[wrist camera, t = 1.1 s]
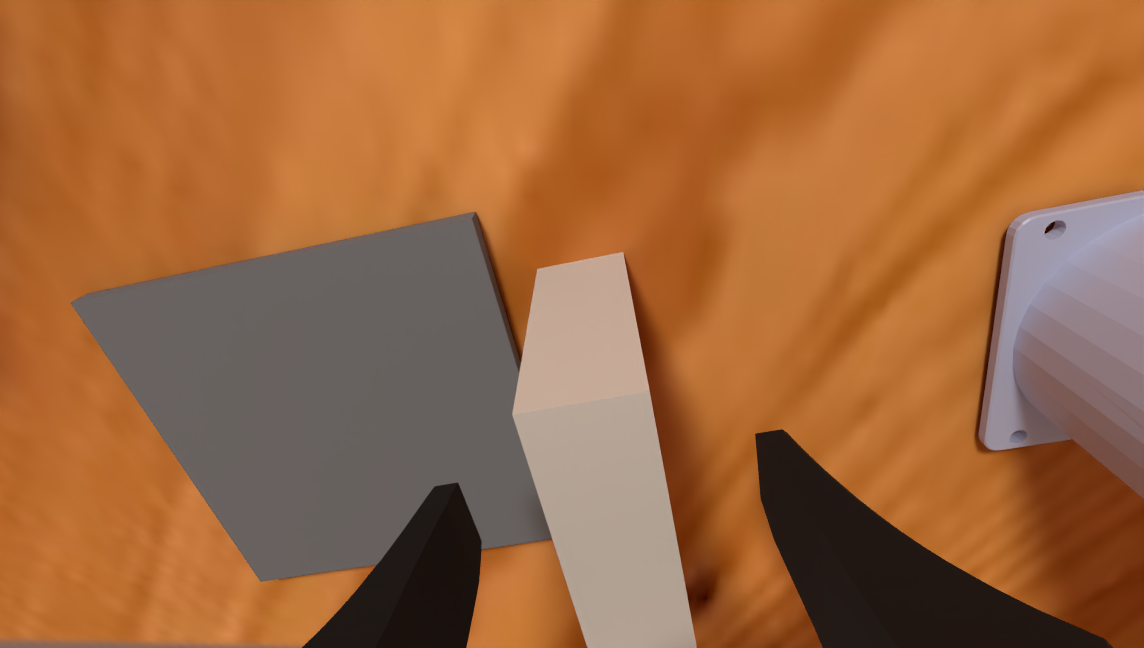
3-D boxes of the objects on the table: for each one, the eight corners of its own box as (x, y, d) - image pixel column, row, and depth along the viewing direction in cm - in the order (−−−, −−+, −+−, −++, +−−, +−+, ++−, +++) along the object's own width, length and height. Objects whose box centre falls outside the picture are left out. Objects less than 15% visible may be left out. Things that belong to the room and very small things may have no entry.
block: (623, 251, 16) (649, 391, 10) (662, 465, 20) (699, 664, 14) (537, 268, 17) (512, 414, 10) (591, 476, 20) (597, 677, 14)
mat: (475, 212, 16) (471, 218, 15) (568, 523, 21) (568, 536, 21) (86, 294, 17) (70, 302, 16) (268, 568, 22) (260, 581, 22)
